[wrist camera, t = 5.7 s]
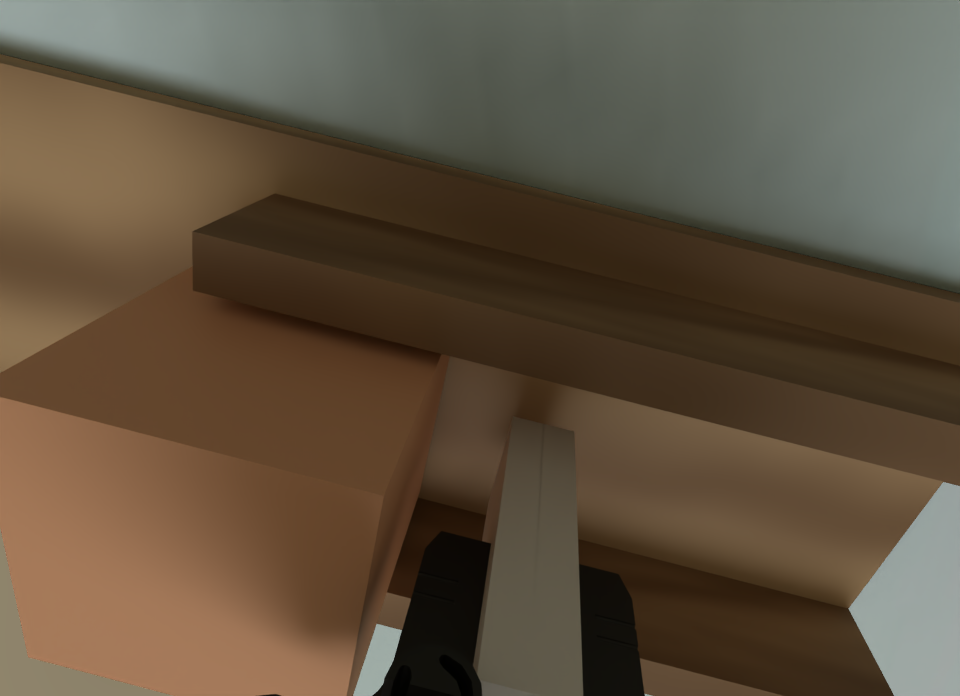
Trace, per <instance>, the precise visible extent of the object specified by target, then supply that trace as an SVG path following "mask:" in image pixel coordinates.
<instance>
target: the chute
mask: <svg viewBox="0 0 960 696" xmlns="http://www.w3.org/2000/svg"><path fill="white" fill-rule="evenodd" d="M192 266H193V291H196V292H200V293H204V294H208V295H212V296H216V297H220V298H224V299H227V300H231V301H235V302H239V303H243V304H247V305H251V306H255V307H259V308H263V309H267V310H271V311H275V312H278V313H282V314H286V315H290V316H294V317H298V318H302V319H306V320H310V321H314V322H318V323H322V324H326V325H330V326H334V327H337V328H341V329H345V330H349V331H353V332H357V333H361V334H365V335H369V336H373V337H377V338H381V339H385V340H389V341H392V342H396V343H400V344H404V345H408V346H412V347H416V348H420V349H424V350H428V351H432V352H436V353H440V354H443V355H447V356H450V358H449V362H448V367H447V371H446V376H445V380H444V385H443V389H442V394H441V398H440V403H439V407H438V412H437V416H436V421H435V425H434V430H433V434H432V439H431V443H430V448H429V452H428V457H427V461H426V466H425V470H424V475H423V479H422V484H421V488H420V493H419V496H418V499H417V502H416V505H415V508H414V511H413V514H412V517H411V520H410V523H409V526H408V529H407V532H406V535H405V538H404V541H403V544H402V547H401V551H400V554H399V557H398V560H397V563H396V566H395V569H394V572H393V575H392V578H391V581H390V584H389V587H388V590H387V593H386V596H385V599H384V602H383V605H382V608H381V611H380V615H379V618H378V621H377V624H381V625H384V626H388V627H392V628H396V629H400V630H402V629H403V626H404V622H405V618H406V615H407V611H408V608H409V604H410V601H411V597H412V594H413V590H414V586H415V583H416V579H417V576H418V572H419V569H420V565H421V561H422V558H423V554H424V551H425V548H426V547H427V546H428V545H429V543H430V542H431V541H432V540H433V539H434V538H435V537H436V536H437V535H438V534H439V533H440V532H441V531H444V532H448V533H452V534H456V535H460V536H464V537H468V538H472V539H476V540H480V541H482V538H483V532H484V526H485V520H486V514H487V508H488V502H489V499H490V495H491V492H492V488H493V485H494V481H495V478H496V474H497V471H498V467H499V464H500V460H501V456H502V453H503V449H504V446H505V442H506V439H507V435H508V432H509V428H510V425H511V421H512V418H513V416H514V417H518V418H522V419H526V420H530V421H534V422H538V423H542V424H546V425H550V426H554V427H558V428H562V429H566V430H570V431H574V435H575V465H576V495H577V525H578V555H579V564H581V565H585V566H589V567H593V568H597V569H601V570H605V571H609V572H613V573H617V574H619V575H620V577H621V579H622V581H623V583H624V585H625V587H626V588H627V590H628V592H629V594H630V596H631V598H632V602H633V609H634V617H635V629H636V632H637V640H638V651H639V655H640V663H641V671H642V678H643V686H644V693H645V694H649V695H652V696H894V695H893V693H892V691H891V689H890V687H889V685H888V683H887V681H886V680H885V678H884V676H883V674H882V672H881V670H880V668H879V666H878V664H877V662H876V661H875V659H874V657H873V655H872V653H871V651H870V649H869V647H868V645H867V643H866V642H865V640H864V638H863V636H862V634H861V632H860V630H859V628H858V626H857V624H856V622H855V621H854V619H853V617H852V615H851V613H850V611H849V609H848V608H849V607H850V606H851V604H852V603H853V602H854V600H855V599H856V598H857V596H858V595H859V594H860V592H861V591H862V590H863V588H864V587H865V586H866V584H867V583H868V582H869V580H870V579H871V578H872V576H873V575H874V574H875V572H876V571H877V570H878V568H879V567H880V565H881V564H882V563H883V561H884V560H885V559H886V557H887V556H888V555H889V553H890V552H891V551H892V549H893V548H894V547H895V545H896V544H897V543H898V541H899V540H900V539H901V537H902V536H903V535H904V533H905V532H906V531H907V529H908V528H909V527H910V525H911V524H912V523H913V521H914V520H915V519H916V517H917V516H918V515H919V513H920V512H921V511H922V509H923V508H924V507H925V505H926V504H927V503H928V501H929V500H930V499H931V497H932V496H933V495H934V493H935V492H936V491H937V489H938V488H939V487H940V485H941V484H942V483H943V482H946V483H950V484H954V485H958V486H960V294H958V293H954V292H950V291H946V290H942V289H938V288H934V287H930V286H926V285H922V284H918V283H914V282H910V281H906V280H902V279H898V278H894V277H890V276H886V275H882V274H878V273H874V272H870V271H866V270H862V269H858V268H854V267H850V266H846V265H842V264H838V263H834V262H830V261H826V260H822V259H818V258H814V257H810V256H806V255H802V254H798V253H794V252H790V251H786V250H782V249H778V248H774V247H770V246H766V245H762V244H758V243H754V242H750V241H746V240H742V239H738V238H734V237H730V236H726V235H722V234H718V233H714V232H710V231H706V230H702V229H698V228H694V227H690V226H686V225H682V224H678V223H674V222H670V221H666V220H662V219H658V218H654V217H650V216H646V215H642V214H638V213H634V212H630V211H626V210H622V209H618V208H614V207H610V206H606V205H602V204H598V203H594V202H590V201H586V200H582V199H578V198H574V197H570V196H566V195H562V194H558V193H554V192H550V191H546V190H542V189H538V188H534V187H530V186H526V185H522V184H518V183H514V182H510V181H506V180H502V179H498V178H494V177H490V176H486V175H482V174H478V173H474V172H470V171H466V170H462V169H458V168H454V167H450V166H446V165H442V164H438V163H434V162H430V161H426V160H422V159H418V158H414V157H410V156H406V155H402V154H398V153H394V152H390V151H386V150H382V149H378V148H374V147H370V146H366V145H362V144H358V143H354V142H350V141H346V140H342V139H338V138H334V137H330V136H326V135H322V134H318V133H314V132H310V131H306V130H302V129H298V128H294V127H290V126H286V125H282V124H278V123H274V122H270V121H266V120H262V119H258V118H254V117H250V116H246V115H242V114H238V113H234V112H230V111H226V110H222V109H218V108H214V107H210V106H206V105H202V104H198V103H194V102H190V101H186V100H182V99H178V98H174V97H170V96H166V95H162V94H158V93H154V92H150V91H146V90H142V89H138V88H134V87H130V86H126V85H122V84H118V83H114V82H110V81H106V80H102V79H98V78H94V77H90V76H86V75H82V74H78V73H74V72H70V71H66V70H62V69H58V68H54V67H50V66H46V65H42V64H38V63H34V62H30V61H26V60H22V59H18V58H14V57H10V56H6V55H2V54H0V373H1V372H3V371H5V370H6V369H8V368H10V367H12V366H14V365H15V364H17V363H19V362H21V361H23V360H24V359H26V358H28V357H30V356H32V355H33V354H35V353H37V352H39V351H41V350H42V349H44V348H46V347H48V346H50V345H51V344H53V343H55V342H57V341H59V340H60V339H62V338H64V337H66V336H68V335H69V334H71V333H73V332H75V331H77V330H78V329H80V328H82V327H84V326H86V325H87V324H89V323H91V322H93V321H95V320H96V319H98V318H100V317H102V316H104V315H105V314H107V313H109V312H111V311H113V310H114V309H116V308H118V307H120V306H122V305H124V304H125V303H127V302H129V301H131V300H133V299H134V298H136V297H138V296H140V295H142V294H143V293H145V292H147V291H149V290H151V289H152V288H154V287H156V286H158V285H160V284H161V283H163V282H165V281H167V280H169V279H170V278H172V277H174V276H176V275H178V274H179V273H181V272H183V271H185V270H187V269H188V268H190V267H192Z"/></svg>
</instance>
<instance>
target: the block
mask: <svg viewBox="0 0 960 696" xmlns="http://www.w3.org/2000/svg"><path fill="white" fill-rule="evenodd" d="M449 358H450V356H447V355H443V354H440V353H436V352H432V351H428V350H424V349H420V348H416V347H412V346H408V345H404V344H400V343H396V342H392V341H389V340H385V339H381V338H377V337H373V336H369V335H365V334H361V333H357V332H353V331H349V330H345V329H341V328H337V327H334V326H330V325H326V324H322V323H318V322H314V321H310V320H306V319H302V318H298V317H294V316H290V315H286V314H282V313H278V312H275V311H271V310H267V309H263V308H259V307H255V306H251V305H247V304H243V303H239V302H235V301H231V300H227V299H224V298H220V297H216V296H212V295H208V294H204V293H200V292H196V291H193V266H192V267H190V268H188V269H187V270H185V271H183V272H181V273H179V274H178V275H176V276H174V277H172V278H170V279H169V280H167V281H165V282H163V283H161V284H160V285H158V286H156V287H154V288H152V289H151V290H149V291H147V292H145V293H143V294H142V295H140V296H138V297H136V298H134V299H133V300H131V301H129V302H127V303H125V304H124V305H122V306H120V307H118V308H116V309H114V310H113V311H111V312H109V313H107V314H105V315H104V316H102V317H100V318H98V319H96V320H95V321H93V322H91V323H89V324H87V325H86V326H84V327H82V328H80V329H78V330H77V331H75V332H73V333H71V334H69V335H68V336H66V337H64V338H62V339H60V340H59V341H57V342H55V343H53V344H51V345H50V346H48V347H46V348H44V349H42V350H41V351H39V352H37V353H35V354H33V355H32V356H30V357H28V358H26V359H24V360H23V361H21V362H19V363H17V364H15V365H14V366H12V367H10V368H8V369H6V370H5V371H3V372H1V373H0V528H1V533H2V537H3V542H4V547H5V551H6V556H7V561H8V565H9V570H10V575H11V579H12V584H13V589H14V593H15V598H16V602H17V607H18V612H19V617H20V621H21V626H22V630H23V635H24V640H25V645H26V649H27V654H28V657H29V658H33V659H37V660H40V661H44V662H48V663H52V664H56V665H60V666H63V667H67V668H71V669H75V670H79V671H82V672H86V673H90V674H94V675H97V676H101V677H105V678H109V679H112V680H116V681H120V682H124V683H127V684H131V685H135V686H139V687H143V688H147V689H150V690H154V691H158V692H162V693H165V694H169V695H173V696H258V695H269V694H278V695H281V696H353V694H354V691H355V688H356V685H357V682H358V679H359V675H360V672H361V669H362V666H363V663H364V660H365V657H366V654H367V651H368V648H369V645H370V642H371V639H372V636H373V633H374V630H375V627H376V624H377V621H378V618H379V615H380V611H381V608H382V605H383V602H384V599H385V596H386V593H387V590H388V587H389V584H390V581H391V578H392V575H393V572H394V569H395V566H396V563H397V560H398V557H399V554H400V551H401V547H402V544H403V541H404V538H405V535H406V532H407V529H408V526H409V523H410V520H411V517H412V514H413V511H414V508H415V505H416V502H417V499H418V496H419V493H420V488H421V484H422V479H423V475H424V470H425V466H426V461H427V457H428V452H429V448H430V443H431V439H432V434H433V430H434V425H435V421H436V416H437V412H438V407H439V403H440V398H441V394H442V389H443V385H444V380H445V376H446V371H447V367H448V362H449Z"/></svg>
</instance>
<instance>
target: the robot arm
mask: <svg viewBox="0 0 960 696" xmlns="http://www.w3.org/2000/svg"><path fill="white" fill-rule="evenodd" d="M258 696H281V695H278V694H269V695H258ZM373 696H645V694H644V686H643V678H642V671H641V663H640V655H639V651H638V640H637V632H636V629H635V617H634V609H633V602H632V598H631V596H630V594H629V592H628V590H627V588H626V587H625V585H624V583H623V581H622V579H621V577H620V575H619V574H617V573H613V572H609V571H605V570H601V569H597V568H593V567H589V566H585V565H581V564H579V555H578V525H577V495H576V465H575V435H574V431H570V430H566V429H562V428H558V427H554V426H550V425H546V424H542V423H538V422H534V421H530V420H526V419H522V418H518V417H514V416H513V418H512V421H511V425H510V428H509V432H508V435H507V439H506V442H505V446H504V449H503V453H502V456H501V460H500V464H499V467H498V471H497V474H496V478H495V481H494V485H493V488H492V492H491V495H490V499H489V502H488V508H487V514H486V520H485V526H484V532H483V538H482V541H480V540H476V539H472V538H468V537H464V536H460V535H456V534H452V533H448V532H444V531H441V532H440V533H439V534H438V535H437V536H436V537H435V538H434V539H433V540H432V541H431V542H430V543H429V545H428V546H427V547H426V548H425V551H424V554H423V558H422V561H421V565H420V569H419V572H418V576H417V579H416V583H415V586H414V590H413V594H412V597H411V601H410V604H409V608H408V611H407V615H406V618H405V622H404V626H403V629H402V633H401V636H400V640H399V643H398V647H397V650H396V654H395V658H394V661H393V663H392V665H391V667H390V669H389V671H388V673H387V675H386V676H385V679H384V684H383V685H382V686H381V688H380V689H379V690H378V691H377V692H376V693H375V694H374V695H373Z"/></svg>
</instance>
